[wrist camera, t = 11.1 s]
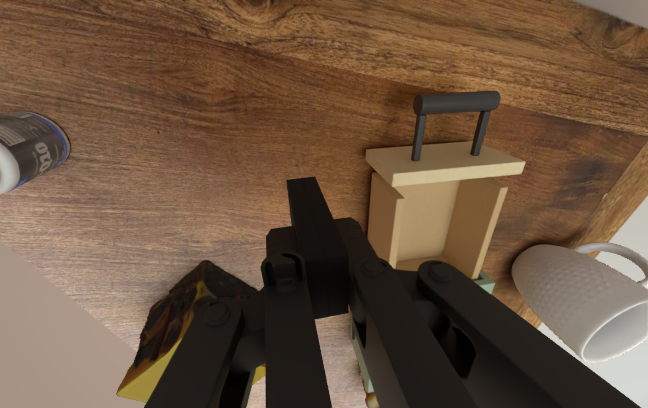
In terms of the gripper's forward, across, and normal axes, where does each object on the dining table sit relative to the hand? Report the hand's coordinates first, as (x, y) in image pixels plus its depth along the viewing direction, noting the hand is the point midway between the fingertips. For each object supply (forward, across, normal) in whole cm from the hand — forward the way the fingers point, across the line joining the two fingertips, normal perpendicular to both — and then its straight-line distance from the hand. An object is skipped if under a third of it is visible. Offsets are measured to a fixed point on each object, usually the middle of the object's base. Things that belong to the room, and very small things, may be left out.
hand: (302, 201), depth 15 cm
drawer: (+13, +14, -7) cm, 20 cm away
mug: (+14, +37, -22) cm, 45 cm away
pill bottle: (+14, -20, +2) cm, 25 cm away
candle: (+14, -11, -20) cm, 27 cm away
